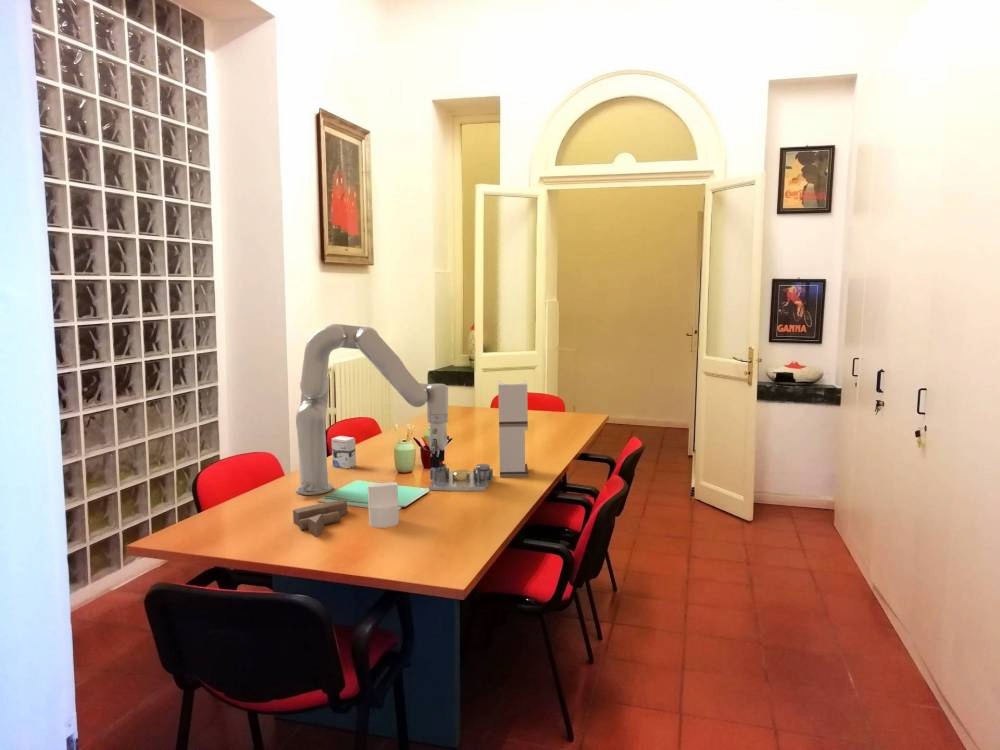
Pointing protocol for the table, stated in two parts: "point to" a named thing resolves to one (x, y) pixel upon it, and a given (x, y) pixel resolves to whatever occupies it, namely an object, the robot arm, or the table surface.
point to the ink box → (343, 452)
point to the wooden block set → (319, 516)
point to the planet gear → (439, 473)
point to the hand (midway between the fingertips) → (437, 464)
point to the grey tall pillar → (512, 429)
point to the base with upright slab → (383, 504)
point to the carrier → (465, 480)
